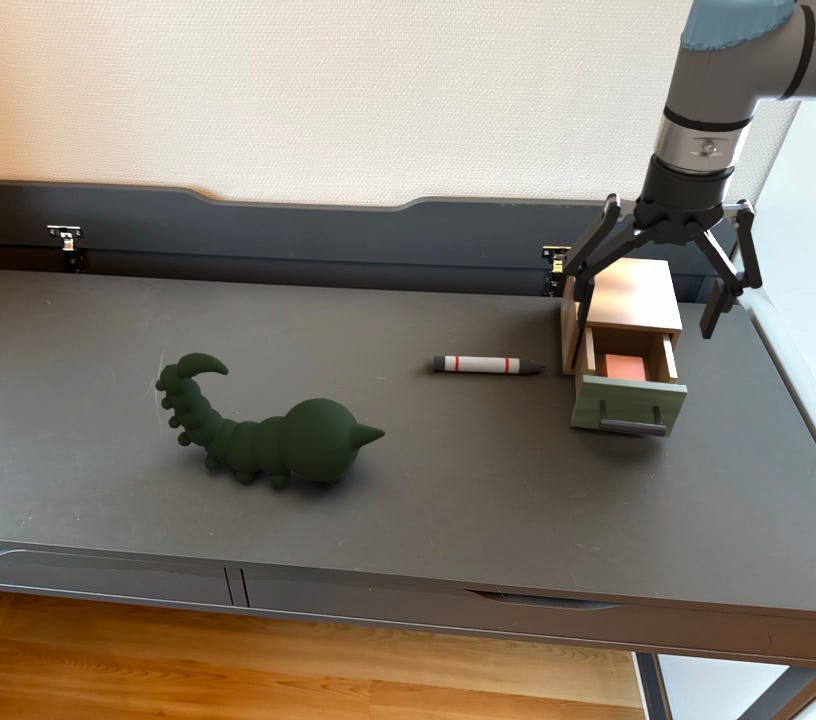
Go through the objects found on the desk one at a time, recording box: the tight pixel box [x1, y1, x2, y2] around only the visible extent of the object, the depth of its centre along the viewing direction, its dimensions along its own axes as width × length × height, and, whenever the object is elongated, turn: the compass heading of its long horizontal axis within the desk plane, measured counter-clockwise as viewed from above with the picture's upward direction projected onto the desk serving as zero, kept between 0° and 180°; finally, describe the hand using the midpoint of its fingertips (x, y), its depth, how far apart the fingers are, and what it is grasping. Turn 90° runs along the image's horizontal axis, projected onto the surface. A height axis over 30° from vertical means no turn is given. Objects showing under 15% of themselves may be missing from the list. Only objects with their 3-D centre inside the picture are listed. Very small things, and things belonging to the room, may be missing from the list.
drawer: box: [570, 326, 688, 438], centre depth 87 cm, size 18×11×8 cm, turn 168°
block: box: [599, 354, 646, 381], centre depth 88 cm, size 4×4×4 cm
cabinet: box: [560, 257, 683, 376], centre depth 96 cm, size 15×13×10 cm
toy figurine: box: [154, 352, 386, 488], centre depth 80 cm, size 9×19×25 cm
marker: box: [433, 355, 549, 374], centre depth 96 cm, size 15×2×2 cm, turn 84°
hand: (641, 326), depth 82 cm, fingers open, 13 cm apart
